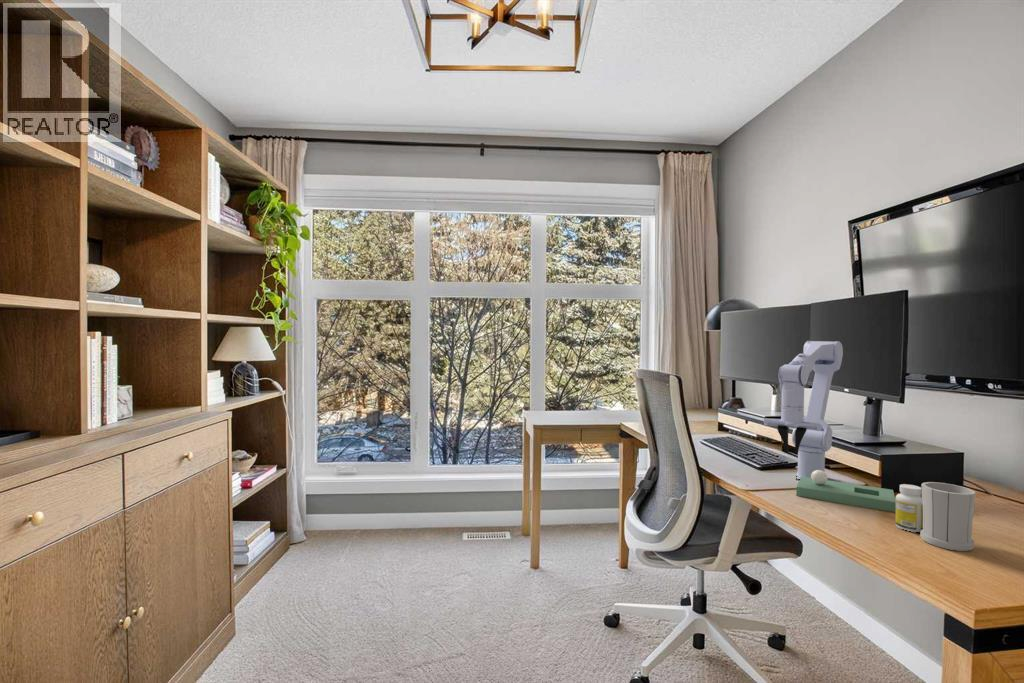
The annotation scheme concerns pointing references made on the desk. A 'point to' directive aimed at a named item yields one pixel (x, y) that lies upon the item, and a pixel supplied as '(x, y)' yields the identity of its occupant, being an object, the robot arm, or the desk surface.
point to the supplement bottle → (909, 508)
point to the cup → (948, 516)
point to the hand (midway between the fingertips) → (791, 452)
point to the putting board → (847, 494)
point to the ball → (819, 477)
